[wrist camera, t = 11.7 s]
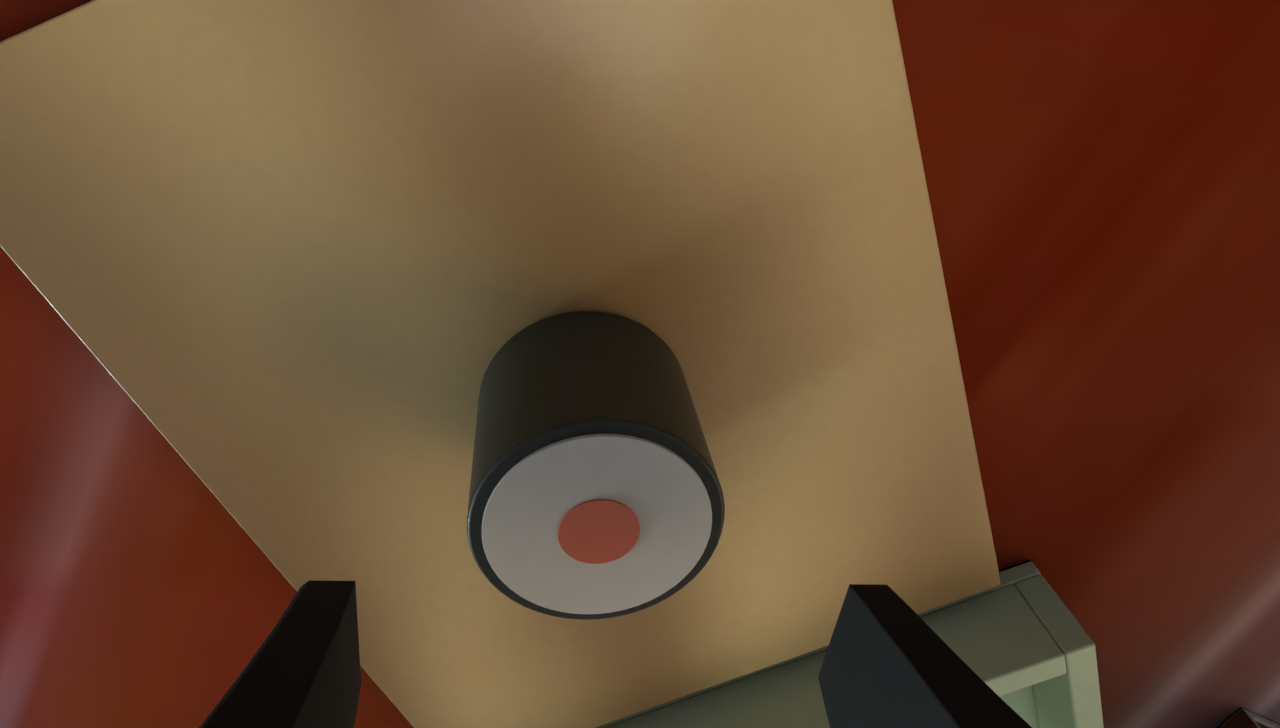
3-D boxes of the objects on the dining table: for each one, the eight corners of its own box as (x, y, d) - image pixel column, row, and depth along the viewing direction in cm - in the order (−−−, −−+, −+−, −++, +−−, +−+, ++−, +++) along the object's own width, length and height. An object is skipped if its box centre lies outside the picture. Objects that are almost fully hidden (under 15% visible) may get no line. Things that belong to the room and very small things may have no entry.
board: (458, 745, 24) (455, 777, 23) (-88, 86, 14) (-129, 98, 13) (983, 558, 22) (1002, 585, 22) (810, -315, 12) (832, -331, 12)
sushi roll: (566, 516, 19) (575, 661, 15) (433, 391, 17) (409, 524, 13) (724, 413, 18) (774, 541, 14) (605, 267, 16) (628, 373, 12)
